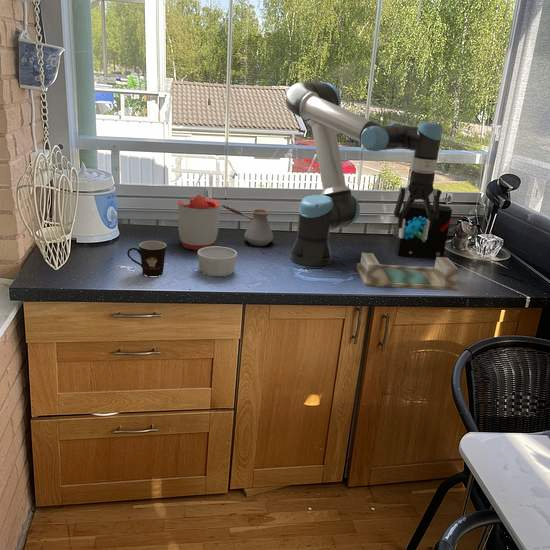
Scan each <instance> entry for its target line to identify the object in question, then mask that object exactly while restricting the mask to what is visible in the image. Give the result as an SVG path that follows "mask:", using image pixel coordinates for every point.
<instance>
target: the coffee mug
mask: <svg viewBox="0 0 550 550" xmlns="http://www.w3.org/2000/svg"><path fill="white" fill-rule="evenodd" d="M132 250H133V251H136V252H137V253H138V254H139V256H140V262H139V261H137V260H136V259H134V258H132V256H130V251H132ZM166 251H167V243H165V242H163V241H159V240H146V241H142V242H141V243H139V244H138V248H136V247H130V248H129V249H128V250H127V256H128V258H129V259H130V260H131V261H132V262H134V263H135V264H136V265H139V266H140V267H141V270H142V275H143V274H145V275H147V276H159V275H162V274H164V267H165V260H166ZM162 276H163V275H162Z"/></svg>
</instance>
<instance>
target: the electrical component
mask: <svg viewBox="0 0 550 550" xmlns="http://www.w3.org/2000/svg"><path fill="white" fill-rule="evenodd" d="M406 202H407V201H403V204H402V208H403V207H404V205H405V203H406ZM430 206H431V211H432V215H433V204H430ZM452 215H453V209H452V208H451V207H450V206H448V205H446V206H445V205H439V219H435V220H434V221H433V222H432V227H431V230H428V235H427V240H425V242H423V241H422V240H421V238H420V239H419V238H418V237H417V236H416V235H414V238H410V237H409V238H408V239H405V238H400V237H399V234H398V236H397V242H396V249H395V251H396V255H397V257H403V258H422V259H433V260H436V257H444V253H445V249H446V243H447V238H448V233H449V228H450V224H451V223H452V221H451V218H452ZM419 216H422V217H423V218H424V217H425V218H426V219H428V217H427V213H426V208H425V204H424V203H416V202H415V203H414V202H413V203H412V205H411V207H410V208H409V210H408V212H407V213H406V215H405V217H404V219H405V220H406V221H405V225H406V226H408V223H407V222H408V221H409V220H411V222H412V221H413V218H414V217H417V218H419ZM422 226H424V225H422ZM404 230H406V229H404ZM419 231H420V232H421V233H422V234H423V231H422V230H421V229H419ZM404 234H405V233H404Z"/></svg>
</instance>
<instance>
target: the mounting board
mask: <svg viewBox="0 0 550 550" xmlns="http://www.w3.org/2000/svg"><path fill="white" fill-rule="evenodd" d="M434 262H435V263H434V267H433V266H418V265H417V266H416V265H415V266H414V265H413V266H411V265H400V264H399V265H398V264H397V265H395V264H380V262H379V261H378V259H377V256H375V255H374V253H372V252H361V256H360V262H359V263H358V262H357V263H356V268H355V269H356V271H357V273H358V275H359V277H360V279H361V281H362V282H363V285H364V286H365V285H369V286H368V287H384V286H392V287H391V288H403V287H407V288H406V289H421V290H422V289H424V290H427V289H428V290H443V291H444V290H445V291H446V290H447V291H458V289H459V286H458V285H457V282H458V277H459V272H460V271H459V270H460V269H459V268H458V267H457V265H455V264H454V262H453V261H452V260H451V259H449V258H448V257H444V256H443V257H436V259H435V261H434Z"/></svg>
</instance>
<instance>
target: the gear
mask: <svg viewBox="0 0 550 550" xmlns="http://www.w3.org/2000/svg"><path fill="white" fill-rule="evenodd" d="M407 223H408V226H406V225H405V227H404V229H406V230H404V233H405V234H403V238H405V239H408V238H409V237H410V238H414V235H416V236H417V237H418V238H419V239H420V238H421V240H422V241H423V242H425V240H424V238H423V234H422V233H421V232H420V231H419V229H421V230H422V231H423V230H424V229H425V227H424V226H422V225H427V222H426V218H425V217H424V218H423V217H422V216H419V218H417V217H414V218H413V221H412V222H411V220H409V221H408V222H407Z"/></svg>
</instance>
